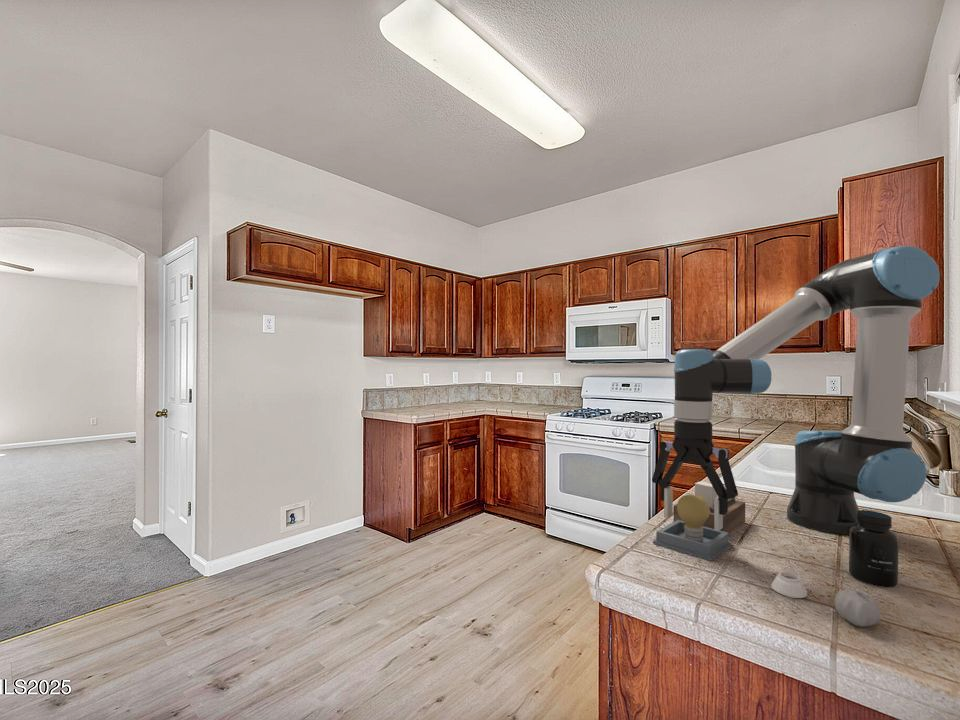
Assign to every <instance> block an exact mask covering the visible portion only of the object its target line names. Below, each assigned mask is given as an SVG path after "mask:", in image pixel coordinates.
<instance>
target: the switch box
mask: <svg viewBox="0 0 960 720" xmlns="http://www.w3.org/2000/svg"><path fill="white" fill-rule="evenodd" d="M677 504H678V502H677V503H675V504H673V522H674V521H676V520H680V521H683V520H682V519H681V517H680V516H679V514H678V511H677ZM745 523H746V502H745V501H740V500H736V497H734V498H732V499H731V498H730V499H728V512H727V514H726V515H723V528H722V529H721V530H719V531H723V532H727V533H729V535H731V534H732V533H733V532H734V531H735V530H737V529H738V528H739V527H741V526H742V525H744V524H745ZM702 526H704V527H708V528H712V529H714V506H713V507H711V508H710V507H709V517H708V519H707V520H706V522H705V523H704V524H703V525H702Z"/></svg>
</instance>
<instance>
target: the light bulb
mask: <svg viewBox="0 0 960 720" xmlns="http://www.w3.org/2000/svg"><path fill="white" fill-rule="evenodd" d="M678 499H679V500H678V502H677V503H678V504H677V503H676V504H677V511H678V514H679V516H680V517H681V519H682V520H683V522H684V523H685V526H684V529H685V530H684V533H685V535H684V536H685V538H688V539H691V540H695V541H698V542H702V541H703V540H704V539H703V527H702V525H703V524H704V523H705V522H706V520H707V519H708V517H709V506H708V504H707V502H706V501H705V500H704V499H703V498H702V497H700V496H698V495H695V494H694V493H693V494H686V495H682V496H681V497H680V498H678Z"/></svg>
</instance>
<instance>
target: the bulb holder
mask: <svg viewBox="0 0 960 720" xmlns="http://www.w3.org/2000/svg"><path fill="white" fill-rule="evenodd" d="M684 526H685V523H684V522H683V521H680V520H676V521H674V520H673V522H671V523H669V524H667V525H665V526H664V527H662V528H660V529H658V530H657V531H656V534H655V535H656V536H655V539H654V540H652V544H654V545H657V546H661V547H664V548H667V549H671V550H674V551H677V552H679V553H683V554H687V555H690V554H691V555H690V556H693V555H694V557H696V556H697V557H696V558H699V557H700V559H703V560H707V561H710V562H713V560H716V558H717V557H718V556H720V555H722V554H723V553H724V552H725V551H726V550H728V549H729V548H730V547H731V546H732V545H733V542H732V541H730V540H729V539H730V538H729V537H730V536H729V535H730V534H729V533H727V532H723V531H715V530H714V529H712V528H708V527H704V526H702V527H703V539H704V540H703V541H702V542H698V541H695V540H691V539H688V538H685V536H684V535H685V533H684V530H685V529H684Z"/></svg>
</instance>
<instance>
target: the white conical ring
mask: <svg viewBox="0 0 960 720" xmlns="http://www.w3.org/2000/svg"><path fill="white" fill-rule="evenodd" d="M771 588H772V590H773V591H775V592H776V593H778V594H780V595H782V596H785V597H788V598H793V599H802V598H803V599H804V598H806V597H807V596H808V591H807V589H806V588H805V586H804V583H803V582H802V581H801V577H800V576H799V575H797V574H795V573H792V572H790V571H778V574H777V575H776V576H775V577H774V579H773V581H772V582H771Z"/></svg>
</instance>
